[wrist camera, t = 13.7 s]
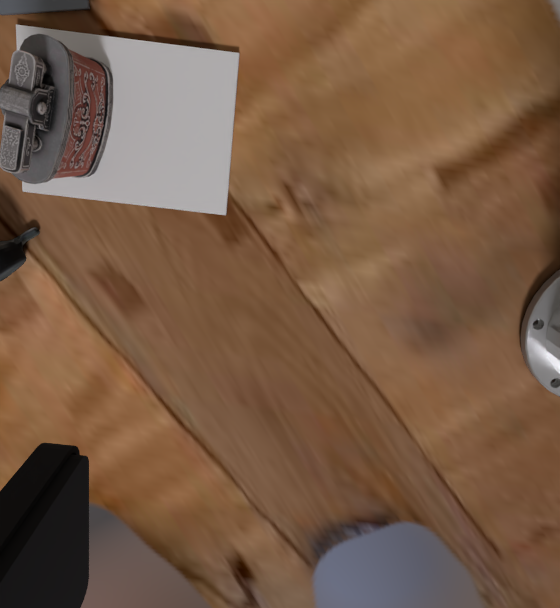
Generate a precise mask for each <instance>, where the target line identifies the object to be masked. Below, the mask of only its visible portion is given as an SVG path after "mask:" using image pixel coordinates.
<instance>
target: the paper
mask: <svg viewBox="0 0 560 608" xmlns="http://www.w3.org/2000/svg"><path fill="white" fill-rule="evenodd" d="M35 34H44V35H48V36H50V37H52V38H54V39H56V40H58V41H60V42H62V43H63V44H64V45H65V46H66V47H67V48H68V49H70V50H72V51H74V52H76V53H78V54H80V55H82V56H84V57H92V58H94V59H96V60H98V61H100V62H102V63H104V64H105V65H106V66H107V67H108V68H109V69H110V71H111V73H112V76H113V111H112V120H111V128H110V132H109V136H108V140H107V144H106V147H105V151H104V153H103V156H102V158H101V161H100V163H99V166H98V168H97V170H96V172H95V173H94V174H93V175H91V176H90V177H84V178H74V177H63V178H54V179H51V180H50V181H48V182H45V183H39V184H30V183H25V182H23V181H22V189H23V192H31V193H40V194H49V195H57V196H66V197H74V198H83V199H91V200H100V201H109V202H117V203H126V204H134V205H143V206H151V207H160V208H168V209H177V210H186V211H194V212H203V213H211V214H220V215H226V212H227V200H228V188H229V176H230V164H231V152H232V140H233V127H234V115H235V103H236V91H237V79H238V67H239V55H240V54H239V53H236V52H228V51H220V50H212V49H204V48H197V47H189V46H181V45H173V44H165V43H157V42H149V41H142V40H134V39H126V38H118V37H110V36H102V35H94V34H87V33H79V32H71V31H63V30H55V29H47V28H40V27H32V26H24V25H16V38H17V50H20V47H21V45H22V43H23V41H24V40H25V39H26V38H28V37H29V36H31V35H35Z"/></svg>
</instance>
